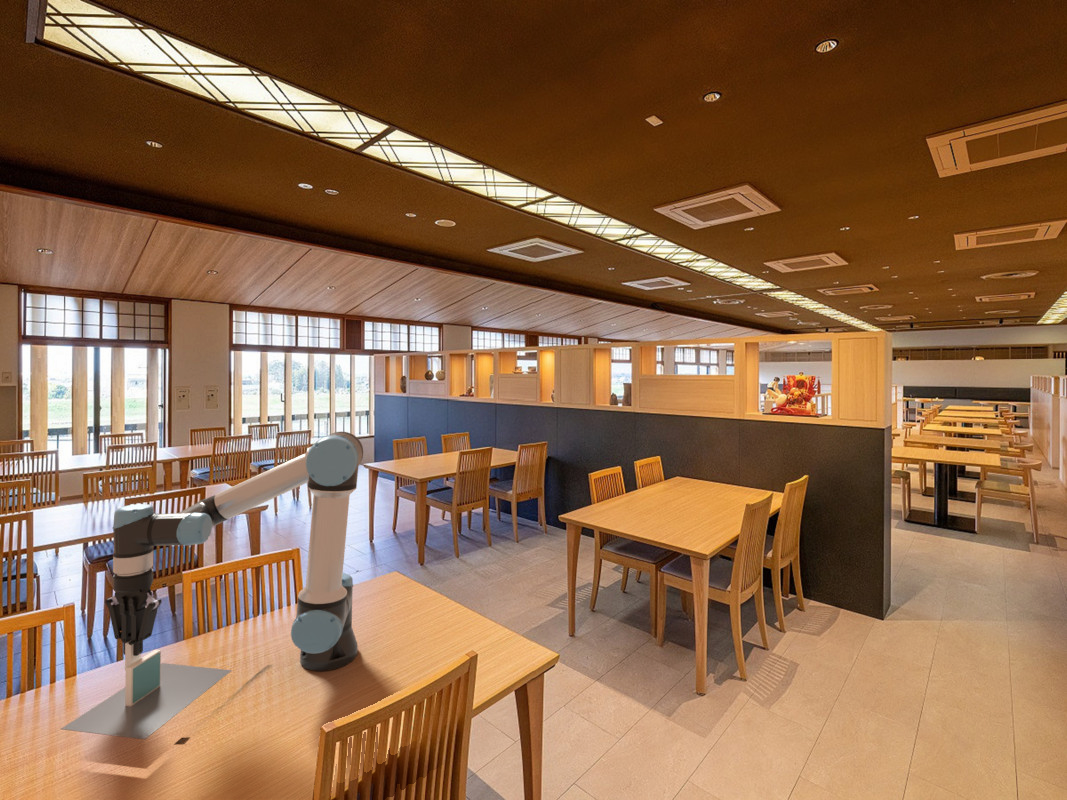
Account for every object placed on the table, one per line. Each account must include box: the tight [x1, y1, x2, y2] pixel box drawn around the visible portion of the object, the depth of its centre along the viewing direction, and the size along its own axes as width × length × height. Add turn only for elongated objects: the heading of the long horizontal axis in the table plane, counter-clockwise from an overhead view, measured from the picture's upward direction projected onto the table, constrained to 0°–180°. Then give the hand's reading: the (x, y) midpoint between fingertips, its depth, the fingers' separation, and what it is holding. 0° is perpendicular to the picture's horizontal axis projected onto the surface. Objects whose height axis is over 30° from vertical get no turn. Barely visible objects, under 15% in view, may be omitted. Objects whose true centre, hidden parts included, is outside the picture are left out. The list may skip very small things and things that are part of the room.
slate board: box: [60, 662, 233, 740], centre depth 120 cm, size 20×26×1 cm
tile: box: [124, 649, 162, 706], centre depth 121 cm, size 2×8×9 cm, turn 174°
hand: (133, 667), depth 121 cm, fingers closed
